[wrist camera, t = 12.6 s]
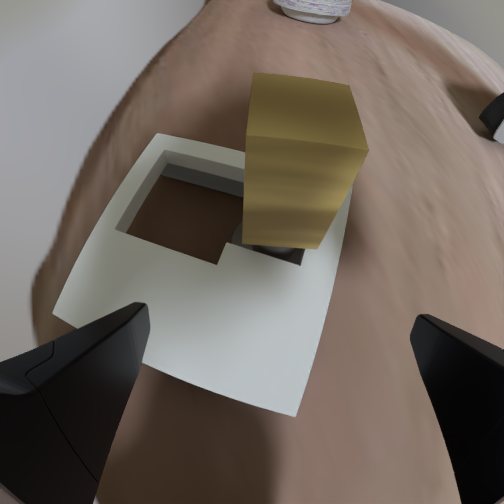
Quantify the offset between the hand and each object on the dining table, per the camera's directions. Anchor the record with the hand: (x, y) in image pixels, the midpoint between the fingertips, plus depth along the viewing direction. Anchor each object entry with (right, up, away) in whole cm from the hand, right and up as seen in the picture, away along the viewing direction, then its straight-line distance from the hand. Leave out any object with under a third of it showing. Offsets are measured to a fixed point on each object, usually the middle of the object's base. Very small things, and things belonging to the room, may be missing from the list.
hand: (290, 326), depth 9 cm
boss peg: (0, +2, +12) cm, 13 cm away
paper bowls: (+10, +49, +35) cm, 60 cm away
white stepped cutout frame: (-4, +1, +12) cm, 12 cm away
